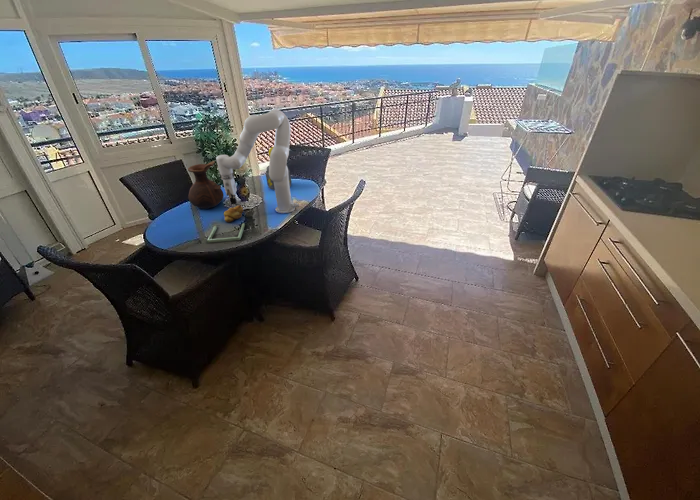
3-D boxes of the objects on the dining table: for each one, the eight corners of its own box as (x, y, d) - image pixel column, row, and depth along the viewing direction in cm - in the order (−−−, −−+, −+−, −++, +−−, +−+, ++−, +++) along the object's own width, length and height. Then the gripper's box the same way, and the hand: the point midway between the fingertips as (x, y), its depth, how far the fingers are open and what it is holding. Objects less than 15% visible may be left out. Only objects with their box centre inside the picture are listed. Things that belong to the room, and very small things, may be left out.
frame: (245, 225, 176) (244, 223, 175) (240, 239, 162) (239, 237, 161) (215, 227, 174) (214, 225, 173) (207, 242, 160) (206, 240, 159)
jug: (198, 215, 189) (182, 169, 173) (187, 205, 203) (172, 161, 186) (231, 205, 201) (219, 161, 185) (219, 196, 215) (207, 154, 198)
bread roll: (230, 225, 177) (227, 213, 172) (219, 221, 181) (216, 209, 176) (246, 216, 186) (243, 204, 182) (235, 213, 190) (232, 202, 186)
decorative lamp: (297, 184, 232) (292, 145, 215) (280, 192, 219) (274, 151, 202) (279, 180, 240) (273, 142, 224) (262, 188, 227) (254, 148, 210)
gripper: (231, 179, 174) (237, 208, 184) (235, 171, 186) (241, 198, 196) (218, 180, 173) (225, 208, 183) (223, 172, 185) (230, 199, 195)
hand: (233, 203), depth 189 cm, fingers closed
